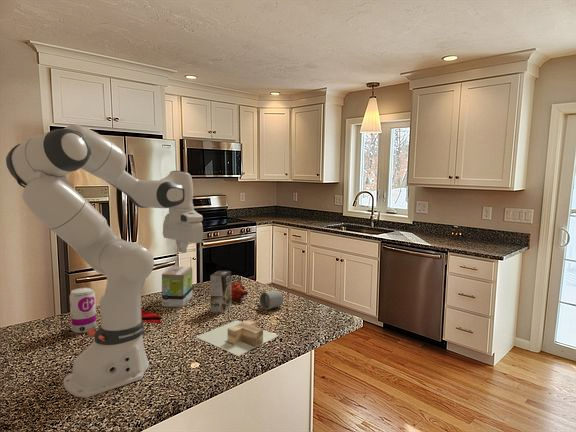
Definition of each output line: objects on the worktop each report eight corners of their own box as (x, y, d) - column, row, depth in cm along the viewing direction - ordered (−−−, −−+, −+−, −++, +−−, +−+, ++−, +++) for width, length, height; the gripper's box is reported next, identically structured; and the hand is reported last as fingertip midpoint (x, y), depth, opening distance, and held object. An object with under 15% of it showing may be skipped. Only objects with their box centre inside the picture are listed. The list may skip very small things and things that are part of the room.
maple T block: (248, 349, 124) (248, 336, 123) (227, 341, 130) (227, 328, 130) (270, 338, 132) (270, 326, 132) (249, 331, 139) (249, 319, 138)
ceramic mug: (284, 307, 165) (284, 290, 164) (270, 312, 159) (270, 294, 159) (269, 302, 173) (269, 285, 172) (254, 306, 167) (254, 289, 166)
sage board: (238, 357, 120) (238, 355, 120) (195, 338, 133) (195, 336, 133) (279, 336, 135) (279, 335, 135) (236, 321, 149) (236, 320, 149)
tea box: (184, 307, 164) (183, 274, 163) (161, 307, 165) (160, 274, 163) (193, 296, 179) (192, 266, 178) (172, 296, 179) (171, 265, 178)
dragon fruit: (231, 297, 182) (243, 308, 173) (219, 290, 177) (230, 301, 168) (241, 283, 184) (254, 292, 174) (229, 275, 178) (241, 285, 169)
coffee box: (224, 313, 157) (224, 276, 155) (210, 312, 158) (209, 275, 157) (232, 306, 166) (231, 270, 164) (218, 305, 167) (217, 269, 165)
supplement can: (99, 329, 140) (98, 290, 139) (75, 335, 134) (73, 295, 133) (91, 323, 146) (89, 285, 144) (68, 329, 140) (66, 290, 138)
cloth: (115, 312, 160) (115, 307, 159) (147, 305, 168) (147, 300, 168) (134, 332, 140) (134, 326, 139) (170, 323, 148) (170, 317, 148)
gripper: (157, 214, 142) (159, 249, 144) (191, 218, 129) (192, 257, 131) (172, 212, 147) (173, 247, 148) (205, 216, 134) (206, 254, 136)
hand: (182, 252), depth 139 cm, fingers closed
